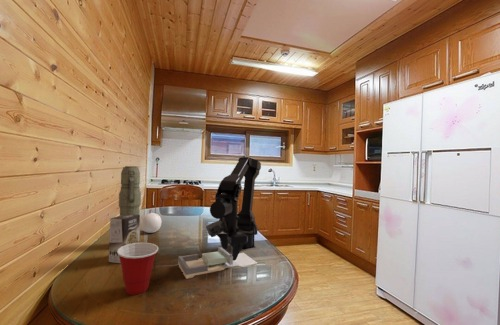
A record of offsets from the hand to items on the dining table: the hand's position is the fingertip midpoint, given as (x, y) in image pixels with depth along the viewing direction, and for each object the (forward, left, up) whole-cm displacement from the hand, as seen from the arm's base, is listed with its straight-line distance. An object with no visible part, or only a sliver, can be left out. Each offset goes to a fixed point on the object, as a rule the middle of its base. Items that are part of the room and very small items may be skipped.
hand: (229, 256), depth 91 cm
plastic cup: (+31, +7, -3) cm, 32 cm away
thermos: (+32, -38, -3) cm, 50 cm away
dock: (+5, 0, -3) cm, 6 cm away
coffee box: (+34, -21, -3) cm, 40 cm away
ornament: (+21, -56, -3) cm, 60 cm away
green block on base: (+6, 0, -1) cm, 6 cm away
